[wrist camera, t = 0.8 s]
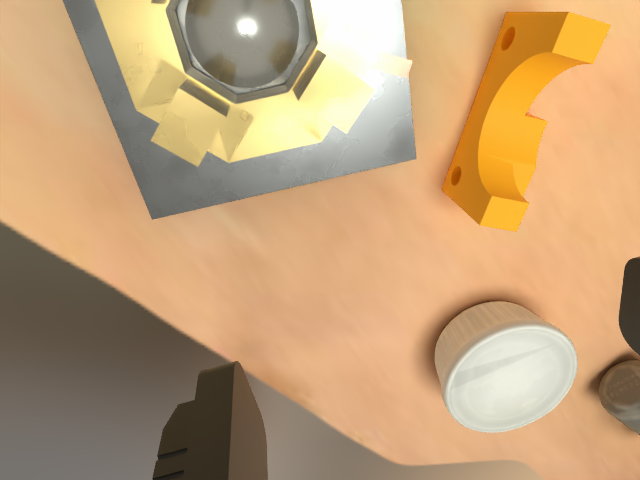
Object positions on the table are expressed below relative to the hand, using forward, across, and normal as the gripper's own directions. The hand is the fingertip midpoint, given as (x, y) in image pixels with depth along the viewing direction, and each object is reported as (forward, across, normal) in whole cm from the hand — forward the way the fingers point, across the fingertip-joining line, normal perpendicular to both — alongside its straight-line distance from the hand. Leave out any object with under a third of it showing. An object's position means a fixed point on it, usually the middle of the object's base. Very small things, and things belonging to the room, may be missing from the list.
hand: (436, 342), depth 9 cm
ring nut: (+21, +3, -6) cm, 22 cm away
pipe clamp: (+23, -13, +3) cm, 27 cm away
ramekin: (+23, -11, +23) cm, 35 cm away
